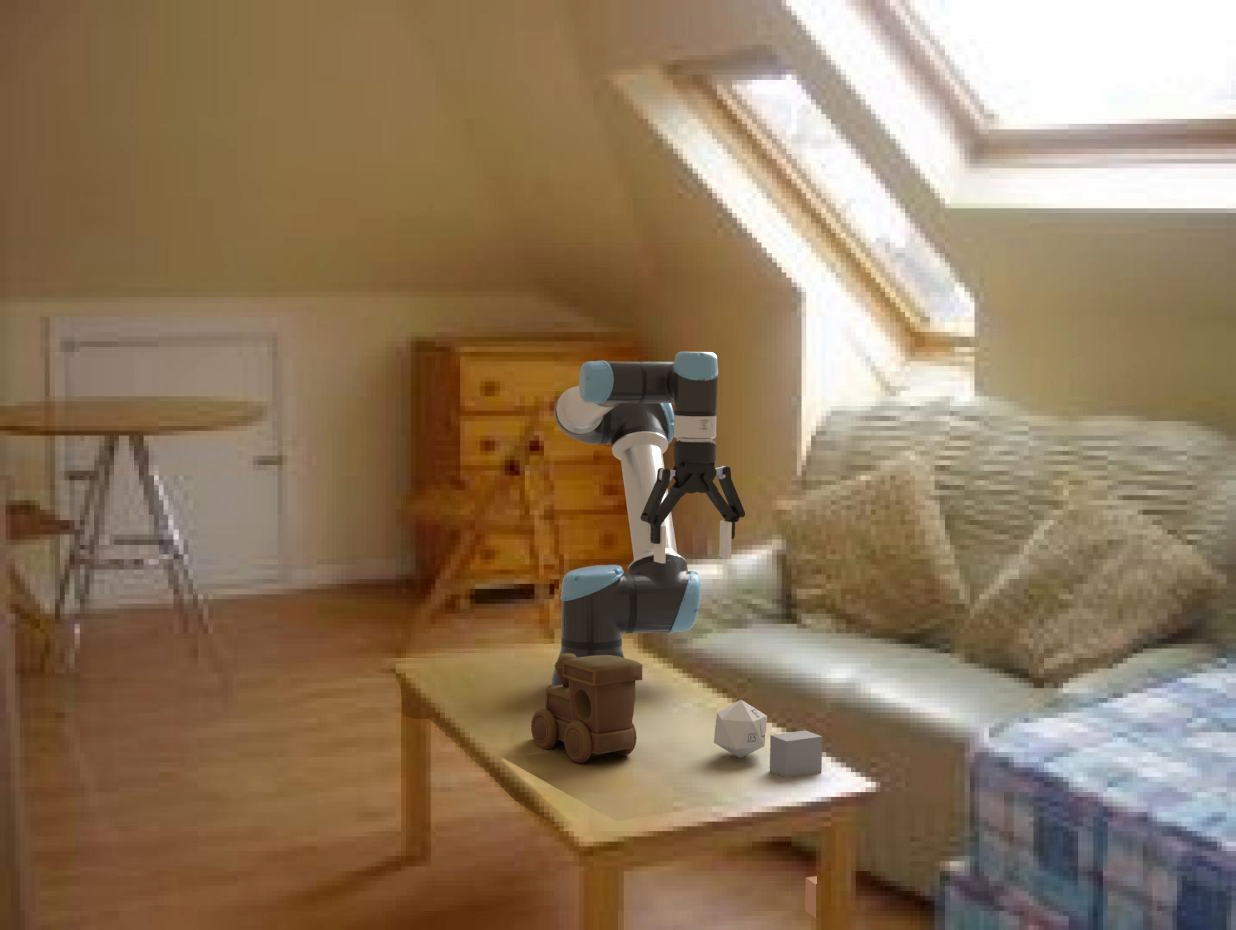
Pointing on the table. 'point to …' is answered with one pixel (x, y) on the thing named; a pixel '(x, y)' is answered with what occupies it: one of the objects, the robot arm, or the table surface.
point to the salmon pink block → (811, 895)
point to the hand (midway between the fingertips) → (692, 560)
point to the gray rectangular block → (795, 754)
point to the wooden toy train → (590, 706)
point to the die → (740, 729)
